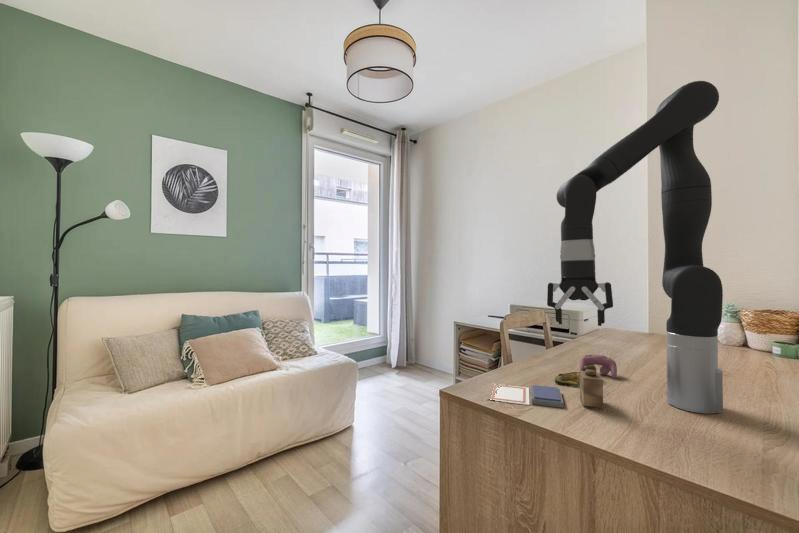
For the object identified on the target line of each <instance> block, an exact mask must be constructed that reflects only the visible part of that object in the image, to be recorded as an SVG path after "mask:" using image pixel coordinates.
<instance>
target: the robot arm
mask: <svg viewBox="0 0 799 533" xmlns="http://www.w3.org/2000/svg"><path fill="white" fill-rule="evenodd" d="M719 101H720V93H719V91H718V88H717V86H715V85H714V84H713V83H711V82H709V81H705V80H697V81H696V80H694V81H691V82H688V83H686V84H684V85H682V86H680V87H679V88H677V89H676V90H675V91H674V92H673V93H671V94H669V95H668V96H667V97H666V98H665V99H663V101H661V103H660V104H659V105H658V107H657V108H656V110H655V114H654V115H653V116H652V117H650V118H649V119H648V120H647V121H645V122H644V123H643V124H642V125H640V126H639V127H637V128H636V129H635V130H633V131H632V132H630V133H629V134H627V135H626V136H625V137H623V138H622V139H620V140H619V141H617V142H616V143H615V144H613V145H612V146H610V147H609V148H608V149H606V150H605V151H604V152H602V153H601V154H600V155H599V156H597V157H596V158H595V159H594V160H592V162H591V163H589V164H588V165H587V166H586V167H584V168H583V169H582V170H581V171H579V172H578V173H577V174H575V175H573V177H570V178H569V179H568V180H567V181H565V182H563V184H561V185H560V187H559V188H558V189H557V193H556V201H557V203H558V205H559V206H561V207H562V208H564V217H563V219H562V221H561V224H560V241H561V242H560V243H561V244H560V251H559V252H560V256H559V259H560V275H561V276H560V282H559V283H555V282H548V284H547V294H546V295H547V297H546V298H547V299H546V301H547V302H546V305H547V307H551V308H554V311H555V321H556V323H558V324H559V325H563V309H562V307H563V305H564V304H565V303H566V302H567V300H568V299H569V300H570V301H578V300H579V301H588V300H590V301H591V302H592V303H593V304H594V305H595V307H597V310H596V312H597V315H596V316H597V326H598V327H602V325H603V324H605V321H606V320H605V317H606V316H605V311H606V310H608V309H612V308H613V307H614V301H613V290H612V284H611V282H609V281H605V282H599V283H597V278H596V253H595V252H596V251H595V243H594V231H593V230H594V228H593V227H594V226H593V219H594V215H595V208H596V202H597V193H598V192H599V191H600V190H602V189H603V188H605V187H607V186H608V185H610V184H612V183H613V182H615V181H616V180H618V179H619V178H620V177H621V176H623V175H624V174H626V173H627V172H628V171H629V170H630V169H632V168H634V166H636V165H638V164H639V162H640V161H642V160H643V159H644V158H645V157H647V156H648V155H649V154H651V152H653V151H654V150H655V149H657V148H659V156H660V157H659V158H660V178H661V179H660V180H661V181H660V182H661V188H660V189H661V190H660V192H661V193H660V194H661V195H660V196H661V211H662V227H663V228H662V229H663V239H664V259H663V270H662V279H661V284H662V288H663V291H664V293H665V294H666V295H667V297H669V298H670V299H671V303H670V304H671V305H670V306H671V308H670V316H669V317H668V319H666V324H665V325H666V331H665V333H666V336H665V337H666V401H667V403H668V405H671V406H672V407H675V408H678V409H679V410H682V411H683V410H684V411H688V412H693V413H697V414H706V415H707V414H709V415H710V414H712V415H713V414H724V391H723V390H724V385H723V383H724V382H723V381H724V379H723V378H724V377H723V373H724V372H723V371H722V369H720V368H719V350H718V348H719V347H718V346H719V345H718V344H719V343H718V342H719V341H718V340H719V339H718V337H719V336H718V335H719V333H718V332H719V327H720V326H721V324H722V320H723V318H722V317H723V303H724V302H723V300H724V299H723V297H724V294H723V290H724V289H723V284H722V280H721V277H720V276H719V274H717V272H715V271H714V270H713V269H711V268H710V267H707V266H704V260H703V240H704V237H705V233H706V230H707V228H708V224H709V221H710V217H711V213H712V205H713V204H712V202H713V197H712V196H713V195H712V181H711V178H710V175H709V172H708V171H707V170H706V168H705V166H704V164H702V162H701V161H700V159H699V158H698V157H697V155H696V151H695V148H694V128H695V125H697V124H698V123H700V122H702V121H704V120H705V119H707V118H708V117H709V116H710V115H711V114H713V112H714V111H715V109H716V108H717V106H718V104H719ZM598 288H599V289H600V290H601V291H602V292H603V293H605V302H603V303H602V302H601V301H600V300H599V299H598V298H597V297H596V296H595V295H594V294H595V292H596V291H597V290H598ZM557 289H560V290H561V291H562V292H563V295H562V296H561V297H560V299H559V300H558V301H557V302H555V301H554V292H556V291H557Z"/></svg>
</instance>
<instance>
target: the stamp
mask: <svg viewBox="0 0 799 533" xmlns="http://www.w3.org/2000/svg"><path fill="white" fill-rule="evenodd" d="M579 372H580V387H579V399H580V402H581V404H582V407H583V408H586V409H593V410H602V411H603V410H604V379H603V378H602V376H601V375H600V373H599V372H598V371H597V370H596V371H595V370H591V369H586V370H585V371H580V370H579Z"/></svg>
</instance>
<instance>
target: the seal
mask: <svg viewBox="0 0 799 533" xmlns="http://www.w3.org/2000/svg"><path fill="white" fill-rule="evenodd" d="M594 366H595V365H594ZM594 366H593V365H588V366H584V368H583V371H585V370H586V369H591V370H595V367H596V366H595V367H594ZM595 371H596V372H597V369H596V370H595ZM554 382H555V384H557V385H561V384H562V385H561V386H566V385H567V386H566V387H569V386H573V388H580V371H571V372H566V373H557V376H555V378H554Z"/></svg>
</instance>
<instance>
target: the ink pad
mask: <svg viewBox="0 0 799 533" xmlns="http://www.w3.org/2000/svg"><path fill="white" fill-rule="evenodd" d="M530 394H531V395H530V397H531V405H537V406H544V407H545V406H546V407H553V408H561V409H564V408H565V406H564V400H563V397H562V392H561V389H560V388H558V387H557V386H556V387H555V386H548V385H547V386H546V385H537V384H533V385H530Z"/></svg>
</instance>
